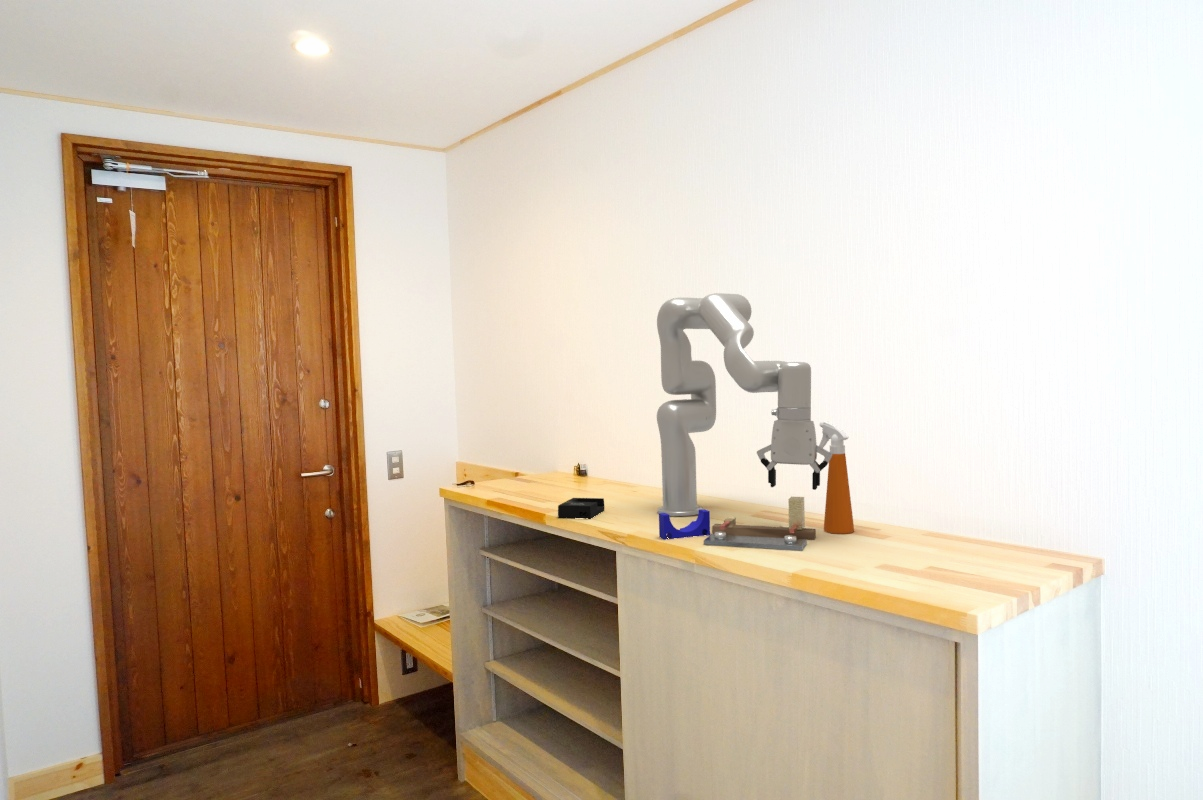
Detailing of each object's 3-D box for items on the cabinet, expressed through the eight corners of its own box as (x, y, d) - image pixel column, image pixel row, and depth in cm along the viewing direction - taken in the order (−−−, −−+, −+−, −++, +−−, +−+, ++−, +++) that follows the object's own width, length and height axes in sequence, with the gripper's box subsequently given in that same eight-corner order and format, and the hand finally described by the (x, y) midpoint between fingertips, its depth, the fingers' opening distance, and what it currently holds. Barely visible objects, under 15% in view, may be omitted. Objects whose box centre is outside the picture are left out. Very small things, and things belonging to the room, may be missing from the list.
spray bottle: (829, 524, 197) (827, 420, 196) (860, 531, 187) (858, 422, 186) (807, 527, 194) (805, 421, 193) (837, 535, 184) (835, 424, 183)
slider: (791, 525, 186) (791, 496, 185) (804, 526, 184) (804, 497, 184) (785, 534, 177) (784, 503, 177) (798, 534, 176) (797, 503, 175)
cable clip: (702, 532, 193) (701, 508, 193) (710, 535, 189) (709, 511, 189) (657, 536, 190) (656, 512, 189) (664, 540, 185) (663, 515, 185)
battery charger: (590, 520, 214) (590, 506, 213) (558, 519, 216) (557, 505, 216) (604, 511, 226) (604, 498, 226) (573, 511, 229) (573, 497, 229)
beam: (716, 531, 193) (715, 516, 193) (815, 536, 183) (815, 521, 183) (705, 539, 184) (705, 524, 184) (810, 545, 175) (809, 529, 175)
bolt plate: (711, 538, 185) (711, 529, 185) (806, 543, 177) (806, 534, 176) (703, 544, 179) (703, 535, 179) (801, 550, 170) (801, 540, 170)
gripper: (753, 415, 182) (753, 488, 183) (830, 417, 175) (830, 492, 177) (760, 412, 189) (760, 482, 190) (834, 414, 182) (833, 487, 183)
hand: (793, 487), depth 183 cm, fingers open, 9 cm apart
